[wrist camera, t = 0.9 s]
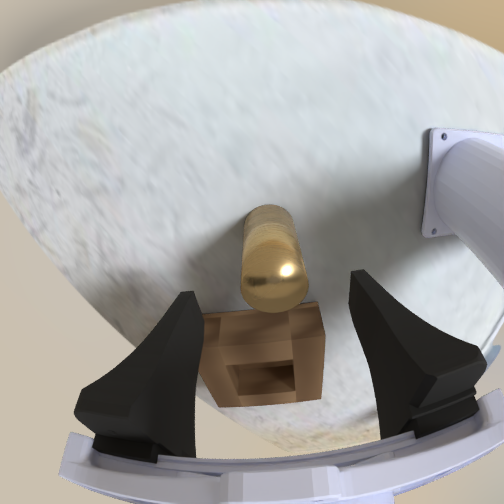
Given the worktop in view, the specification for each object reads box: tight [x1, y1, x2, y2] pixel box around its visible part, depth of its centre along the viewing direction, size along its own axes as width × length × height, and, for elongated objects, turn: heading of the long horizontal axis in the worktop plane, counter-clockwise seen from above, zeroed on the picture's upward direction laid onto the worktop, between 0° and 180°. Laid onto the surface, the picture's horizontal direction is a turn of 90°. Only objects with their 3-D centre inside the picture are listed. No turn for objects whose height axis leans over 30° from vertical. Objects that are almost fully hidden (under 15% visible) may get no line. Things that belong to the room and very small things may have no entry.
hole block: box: [198, 302, 325, 407], centre depth 24 cm, size 10×10×4 cm
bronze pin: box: [241, 205, 309, 313], centre depth 16 cm, size 3×3×6 cm
